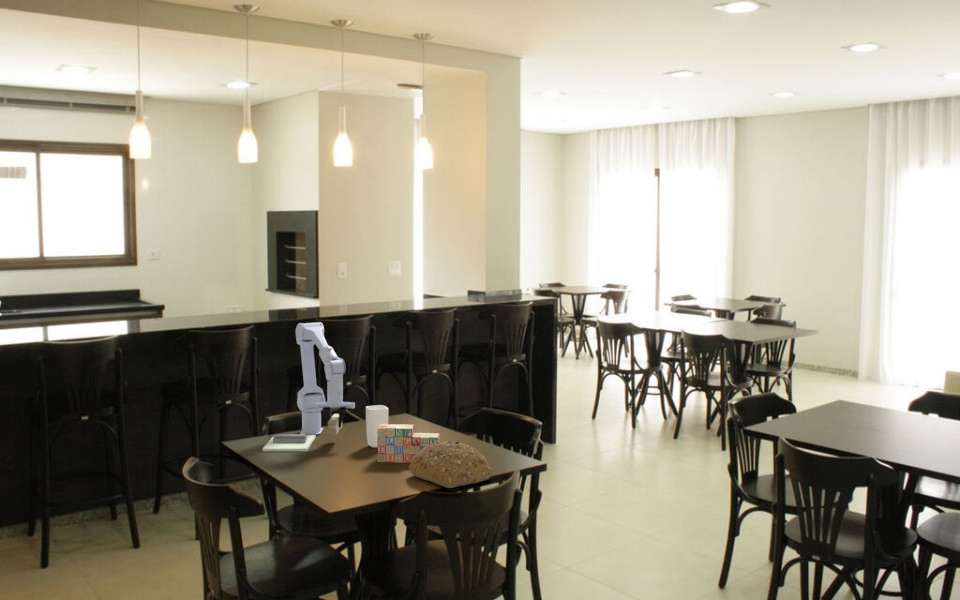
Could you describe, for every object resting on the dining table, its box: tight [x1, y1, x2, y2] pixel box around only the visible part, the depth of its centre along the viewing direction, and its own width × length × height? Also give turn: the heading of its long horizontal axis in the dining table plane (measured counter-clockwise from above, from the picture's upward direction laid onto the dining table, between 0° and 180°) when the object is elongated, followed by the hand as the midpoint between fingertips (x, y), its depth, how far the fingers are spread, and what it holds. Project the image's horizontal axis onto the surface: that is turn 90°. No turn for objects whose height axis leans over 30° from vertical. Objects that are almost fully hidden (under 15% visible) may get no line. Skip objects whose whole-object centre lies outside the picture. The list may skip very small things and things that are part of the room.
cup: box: [365, 404, 389, 449], centre depth 303 cm, size 7×7×15 cm
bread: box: [408, 439, 493, 489], centre depth 265 cm, size 24×21×12 cm
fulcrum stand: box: [262, 433, 317, 452], centre depth 305 cm, size 20×16×4 cm
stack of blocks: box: [376, 423, 440, 463], centre depth 285 cm, size 21×6×12 cm, turn 87°
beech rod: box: [327, 413, 343, 436], centre depth 305 cm, size 14×3×5 cm, turn 0°
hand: (335, 426), depth 306 cm, fingers closed on beech rod, 3 cm apart
